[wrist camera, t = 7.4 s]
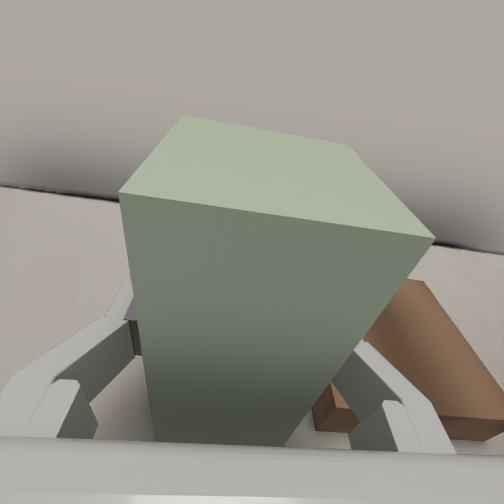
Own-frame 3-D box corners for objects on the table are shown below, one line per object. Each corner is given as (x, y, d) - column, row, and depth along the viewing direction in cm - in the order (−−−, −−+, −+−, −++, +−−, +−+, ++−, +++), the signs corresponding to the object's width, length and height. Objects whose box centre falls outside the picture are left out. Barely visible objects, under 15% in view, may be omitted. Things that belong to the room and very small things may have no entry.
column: (266, 355, 14) (346, 144, 7) (273, 459, 11) (435, 238, 4) (180, 348, 14) (183, 114, 7) (157, 455, 10) (118, 191, 3)
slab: (401, 308, 21) (423, 281, 19) (478, 443, 14) (525, 421, 12) (290, 294, 20) (302, 264, 18) (313, 433, 13) (336, 407, 11)
